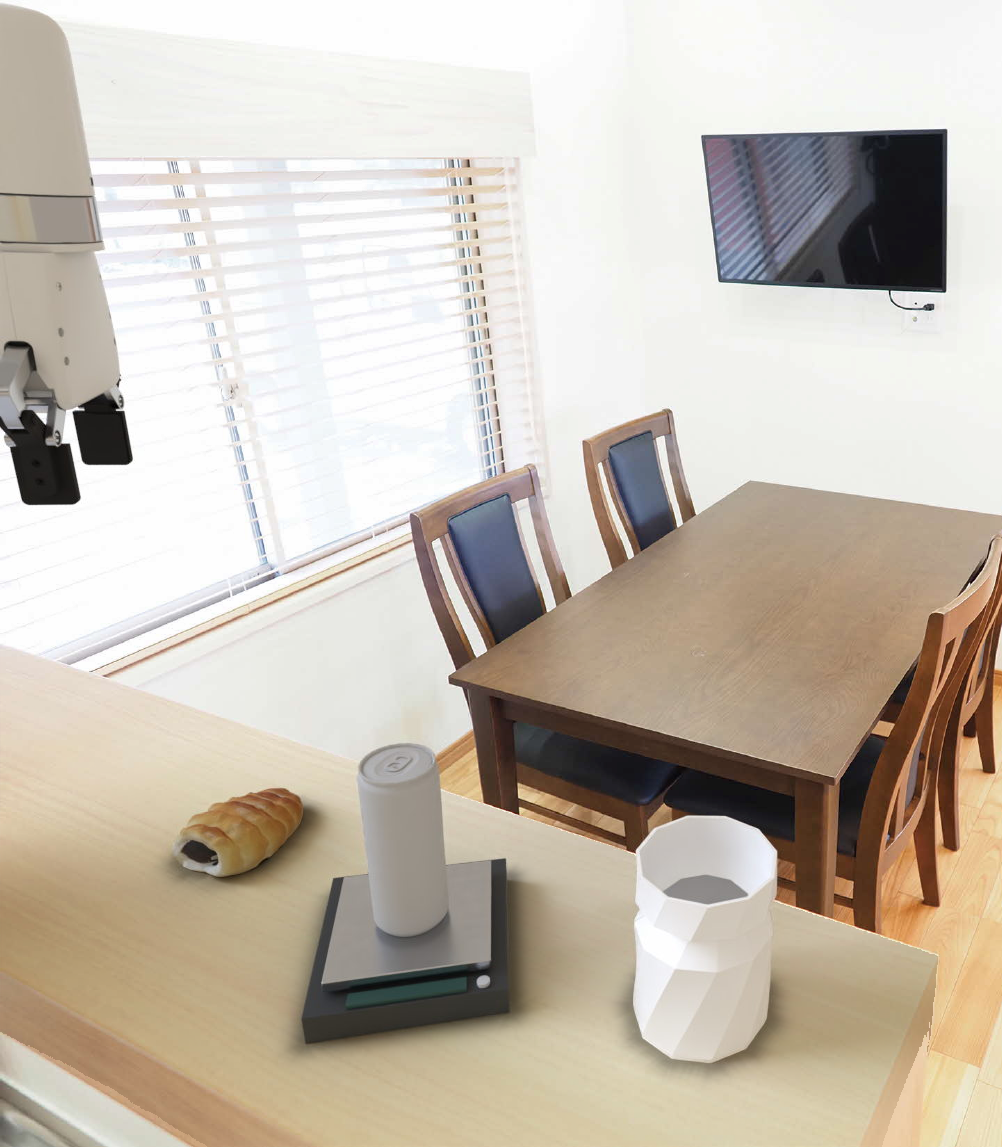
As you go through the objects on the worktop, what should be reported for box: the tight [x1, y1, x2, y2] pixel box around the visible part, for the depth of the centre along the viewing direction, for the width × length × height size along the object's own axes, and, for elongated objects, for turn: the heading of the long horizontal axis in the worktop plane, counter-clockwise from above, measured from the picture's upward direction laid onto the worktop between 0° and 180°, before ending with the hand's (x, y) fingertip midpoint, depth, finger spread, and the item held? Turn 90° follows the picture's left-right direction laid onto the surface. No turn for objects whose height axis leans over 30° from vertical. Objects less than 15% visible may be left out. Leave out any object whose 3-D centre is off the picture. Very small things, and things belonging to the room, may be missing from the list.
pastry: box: [170, 787, 304, 878], centre depth 75 cm, size 9×7×4 cm
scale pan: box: [321, 860, 492, 992], centre depth 65 cm, size 10×10×1 cm
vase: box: [632, 815, 778, 1064], centre depth 61 cm, size 9×9×12 cm
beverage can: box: [356, 742, 449, 937], centre depth 63 cm, size 5×5×12 cm
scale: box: [300, 857, 511, 1045], centre depth 66 cm, size 12×13×2 cm
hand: (82, 482), depth 68 cm, fingers open, 9 cm apart
